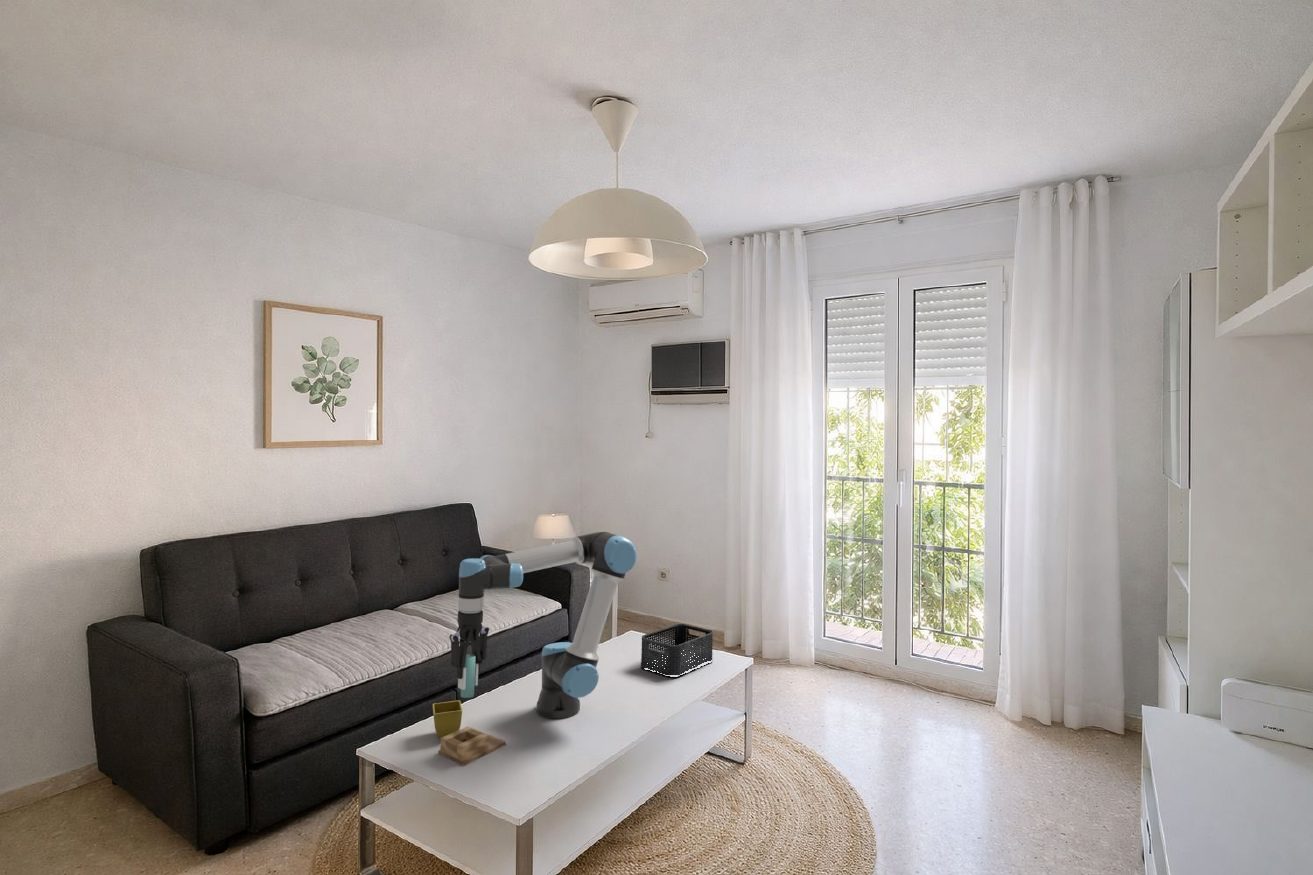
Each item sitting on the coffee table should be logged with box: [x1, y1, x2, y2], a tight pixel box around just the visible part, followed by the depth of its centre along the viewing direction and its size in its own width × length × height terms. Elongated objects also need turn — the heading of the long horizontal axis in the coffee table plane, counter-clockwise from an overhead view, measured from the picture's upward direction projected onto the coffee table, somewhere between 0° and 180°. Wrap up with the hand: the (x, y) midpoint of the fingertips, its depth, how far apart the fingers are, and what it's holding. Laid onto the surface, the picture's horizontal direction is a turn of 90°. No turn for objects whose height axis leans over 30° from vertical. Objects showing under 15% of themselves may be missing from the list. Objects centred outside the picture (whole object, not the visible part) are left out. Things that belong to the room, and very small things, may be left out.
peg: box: [460, 653, 476, 699], centre depth 210 cm, size 4×4×12 cm
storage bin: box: [640, 623, 714, 675], centre depth 287 cm, size 29×19×13 cm
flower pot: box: [432, 700, 463, 739], centre depth 220 cm, size 9×9×9 cm
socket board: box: [437, 726, 507, 766], centre depth 210 cm, size 16×12×5 cm
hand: (467, 686), depth 210 cm, fingers closed on peg, 4 cm apart
